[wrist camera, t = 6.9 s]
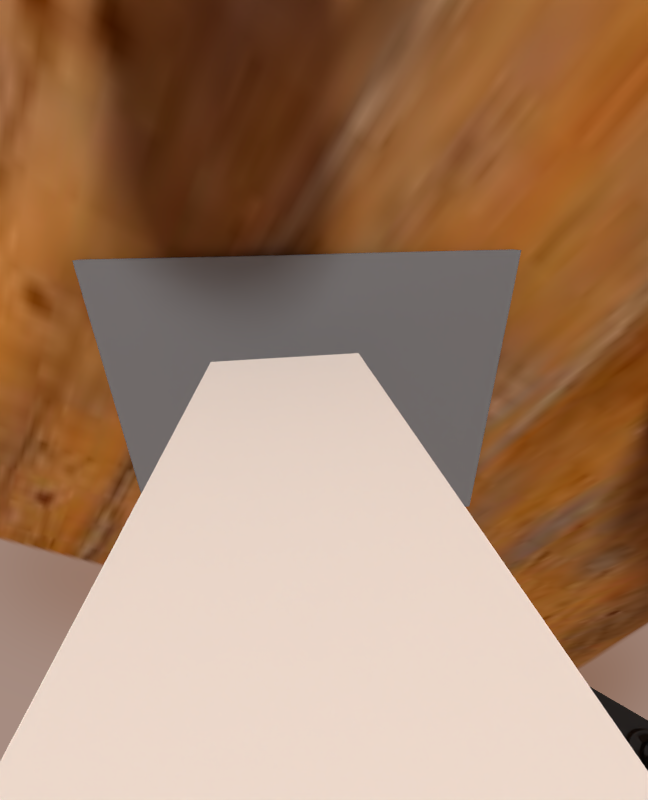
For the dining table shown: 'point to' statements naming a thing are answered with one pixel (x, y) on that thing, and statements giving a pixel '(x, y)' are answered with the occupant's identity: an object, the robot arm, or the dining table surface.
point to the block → (309, 625)
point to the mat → (307, 334)
